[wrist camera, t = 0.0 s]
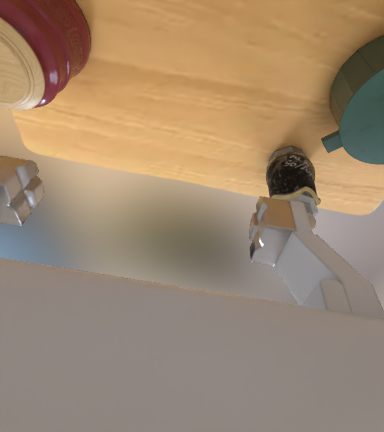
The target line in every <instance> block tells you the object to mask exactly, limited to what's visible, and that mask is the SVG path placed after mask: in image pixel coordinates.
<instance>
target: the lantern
mask: <svg viewBox="0 0 384 432" xmlns="http://www.w3.org/2000/svg"><path fill="white" fill-rule="evenodd" d="M266 181H267V185H268V188H269V195H270V198H275V199H281V200H292V201H300V202H303V203H304V205H305V209H306V212H307V215H308V219H309V222H310V225H311V229H313V228H314V227H315V225H316V220H315V218H314V216H315V215H316V214H317V213H318V210H317V206H316V205H318V204H320V202H321V200H320V199H319V198H318V197H317V193H316V188H315V183H314V181H315V170H314V167H313V165H312V163H311V162H310V160H309V159H308V158H307V157H306V156H305V155H304V154H303V153H302V150H300V149H297V148H295V147H292V146H290V147H287V148H284V149H281V150H278V151H275V152H274V153H273V155H272V156H271V158H270V160H269V164H268V166H267V173H266Z"/></svg>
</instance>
